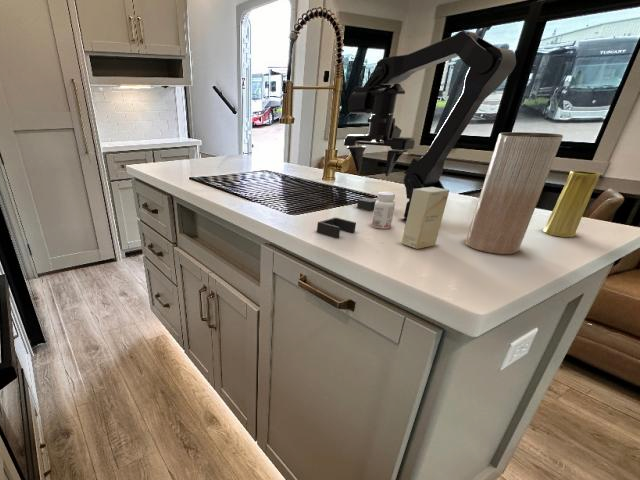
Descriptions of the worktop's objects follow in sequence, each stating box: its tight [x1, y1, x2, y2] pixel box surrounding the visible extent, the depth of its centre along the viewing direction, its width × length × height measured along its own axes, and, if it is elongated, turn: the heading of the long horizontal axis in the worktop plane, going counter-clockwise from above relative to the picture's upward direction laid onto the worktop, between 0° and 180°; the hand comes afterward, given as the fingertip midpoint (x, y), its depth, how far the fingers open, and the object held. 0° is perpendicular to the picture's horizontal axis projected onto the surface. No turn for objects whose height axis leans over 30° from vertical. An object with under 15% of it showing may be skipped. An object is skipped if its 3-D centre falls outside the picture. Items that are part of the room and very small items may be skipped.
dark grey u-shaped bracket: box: [316, 216, 357, 239], centre depth 88 cm, size 6×7×2 cm
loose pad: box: [356, 197, 378, 212], centre depth 109 cm, size 5×5×2 cm
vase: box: [543, 170, 601, 238], centre depth 84 cm, size 6×6×14 cm
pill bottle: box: [371, 191, 396, 230], centre depth 91 cm, size 5×5×8 cm
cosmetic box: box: [401, 187, 450, 250], centre depth 78 cm, size 6×4×12 cm
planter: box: [465, 131, 564, 255], centre depth 74 cm, size 10×10×23 cm
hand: (372, 174), depth 105 cm, fingers open, 9 cm apart
